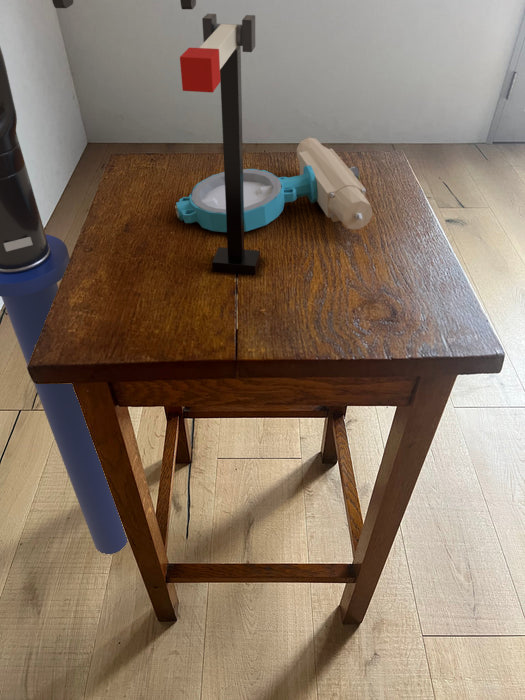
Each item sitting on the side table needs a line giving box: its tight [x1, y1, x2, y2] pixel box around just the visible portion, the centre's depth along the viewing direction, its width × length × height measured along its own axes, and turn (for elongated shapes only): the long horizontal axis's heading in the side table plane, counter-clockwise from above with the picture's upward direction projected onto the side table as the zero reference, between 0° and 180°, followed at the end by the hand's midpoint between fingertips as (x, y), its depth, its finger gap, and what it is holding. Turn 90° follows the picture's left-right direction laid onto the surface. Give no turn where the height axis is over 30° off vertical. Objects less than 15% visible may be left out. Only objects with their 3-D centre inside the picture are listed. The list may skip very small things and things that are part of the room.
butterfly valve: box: [174, 137, 374, 233], centre depth 90 cm, size 27×7×30 cm
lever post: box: [201, 13, 261, 276], centre depth 69 cm, size 6×4×31 cm, turn 81°
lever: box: [179, 23, 243, 93], centre depth 55 cm, size 3×16×3 cm, turn 171°
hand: (126, 6), depth 38 cm, fingers open, 8 cm apart
